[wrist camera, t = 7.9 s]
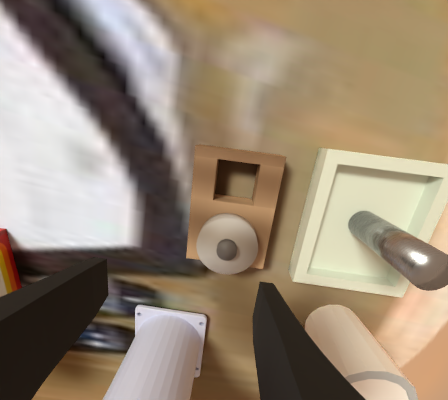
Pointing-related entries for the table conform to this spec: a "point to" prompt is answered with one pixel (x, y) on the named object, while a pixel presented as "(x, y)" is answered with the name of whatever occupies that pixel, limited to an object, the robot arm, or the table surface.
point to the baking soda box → (7, 266)
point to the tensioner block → (232, 211)
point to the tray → (363, 201)
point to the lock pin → (402, 250)
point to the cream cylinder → (357, 354)
